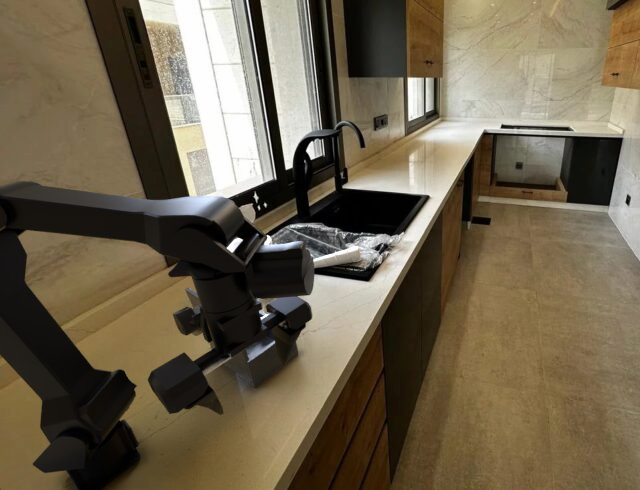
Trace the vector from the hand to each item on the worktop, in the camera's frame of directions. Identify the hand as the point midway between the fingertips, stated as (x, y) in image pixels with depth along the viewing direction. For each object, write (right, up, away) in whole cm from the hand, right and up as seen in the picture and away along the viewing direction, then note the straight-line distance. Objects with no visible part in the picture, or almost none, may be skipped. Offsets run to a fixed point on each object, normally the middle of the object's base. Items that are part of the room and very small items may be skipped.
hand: (254, 386), depth 47 cm
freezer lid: (-13, +5, +12) cm, 19 cm away
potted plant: (-26, +6, +49) cm, 56 cm away
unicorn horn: (-6, +7, +52) cm, 53 cm away
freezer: (-11, -5, +21) cm, 24 cm away
